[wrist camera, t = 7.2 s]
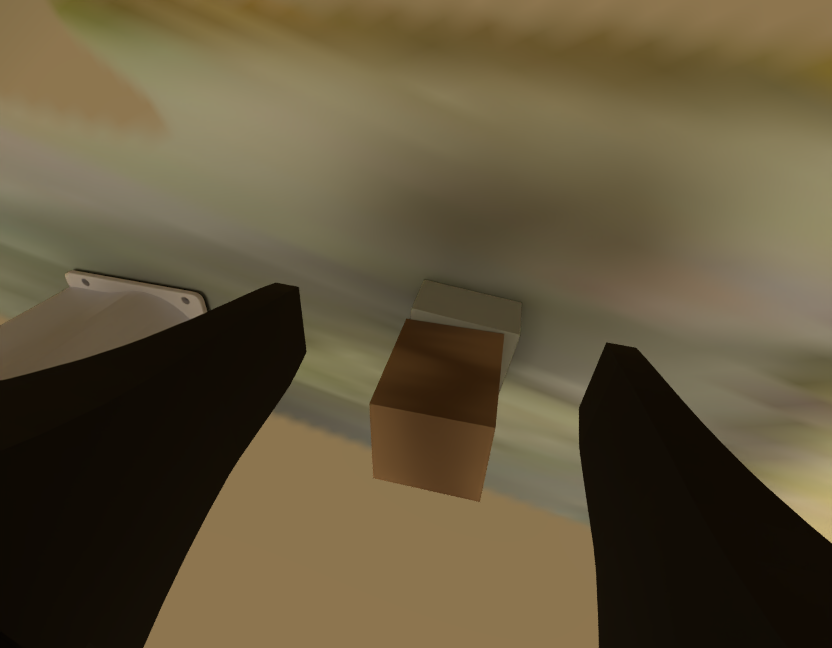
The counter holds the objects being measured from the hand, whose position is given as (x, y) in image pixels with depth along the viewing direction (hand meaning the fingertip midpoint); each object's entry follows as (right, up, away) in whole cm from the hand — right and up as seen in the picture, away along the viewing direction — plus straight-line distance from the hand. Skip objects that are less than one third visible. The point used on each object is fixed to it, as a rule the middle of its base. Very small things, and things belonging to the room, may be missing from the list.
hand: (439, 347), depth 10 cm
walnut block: (+1, -1, +10) cm, 10 cm away
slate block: (+2, 0, +13) cm, 13 cm away
